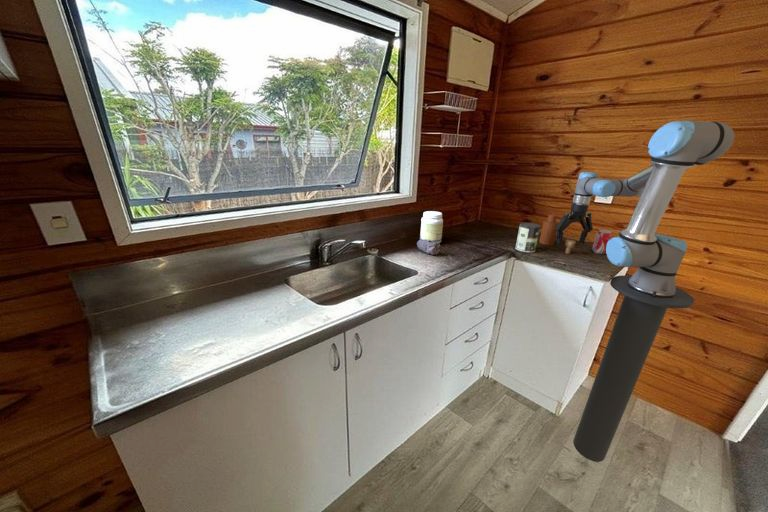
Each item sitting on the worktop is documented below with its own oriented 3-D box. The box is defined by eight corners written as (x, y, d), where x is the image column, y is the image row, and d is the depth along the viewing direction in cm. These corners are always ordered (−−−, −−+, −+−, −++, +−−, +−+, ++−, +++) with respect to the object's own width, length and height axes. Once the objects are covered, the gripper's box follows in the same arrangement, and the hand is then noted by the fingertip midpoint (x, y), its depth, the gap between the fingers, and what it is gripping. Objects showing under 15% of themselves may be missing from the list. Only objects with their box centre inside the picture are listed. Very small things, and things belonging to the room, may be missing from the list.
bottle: (550, 246, 174) (557, 217, 168) (536, 242, 179) (542, 214, 173) (556, 243, 178) (562, 215, 172) (542, 240, 184) (548, 212, 178)
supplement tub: (445, 242, 175) (448, 213, 169) (431, 246, 167) (433, 216, 161) (429, 237, 183) (431, 209, 177) (415, 240, 176) (417, 212, 170)
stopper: (570, 255, 160) (573, 242, 157) (561, 253, 163) (564, 240, 160) (573, 253, 162) (577, 241, 160) (564, 251, 166) (567, 239, 163)
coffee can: (536, 248, 168) (541, 224, 163) (534, 254, 160) (539, 228, 155) (516, 245, 173) (521, 221, 168) (513, 250, 165) (518, 225, 160)
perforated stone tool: (413, 249, 163) (414, 236, 160) (420, 247, 165) (421, 235, 163) (433, 257, 151) (434, 244, 149) (440, 255, 154) (442, 242, 152)
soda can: (588, 250, 169) (594, 229, 164) (601, 250, 169) (607, 229, 164) (596, 254, 162) (602, 233, 158) (609, 255, 162) (616, 233, 158)
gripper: (596, 202, 158) (585, 240, 166) (553, 202, 155) (543, 241, 163) (608, 205, 151) (596, 245, 159) (563, 205, 148) (552, 246, 156)
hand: (569, 243), depth 161 cm, fingers open, 13 cm apart
